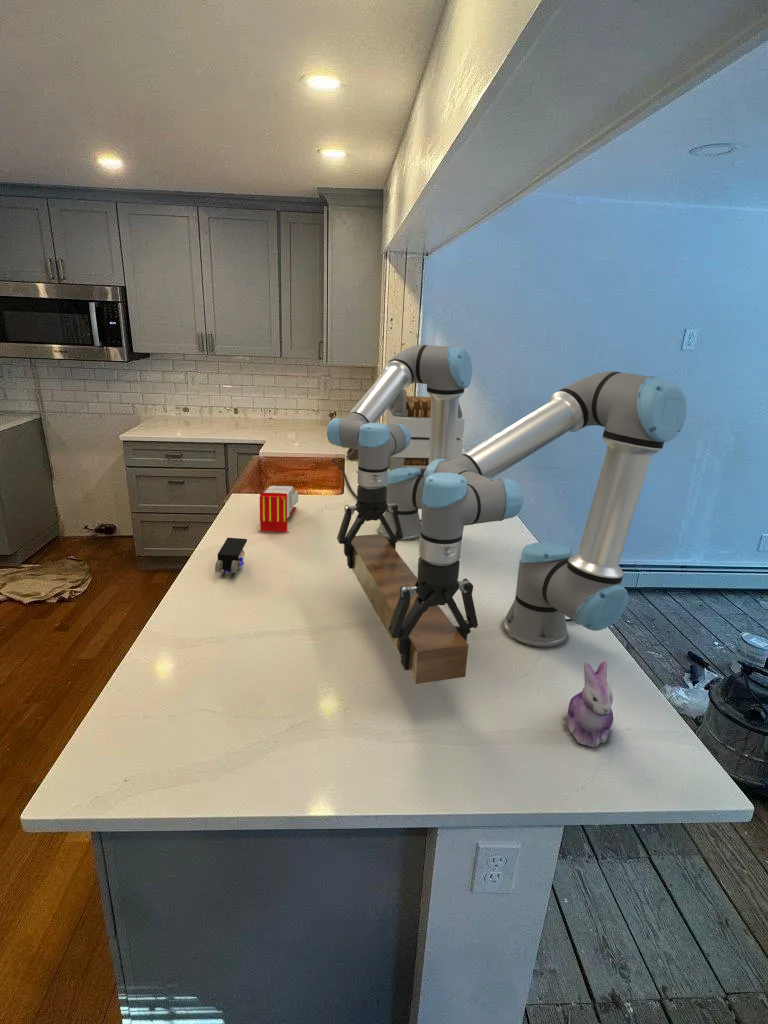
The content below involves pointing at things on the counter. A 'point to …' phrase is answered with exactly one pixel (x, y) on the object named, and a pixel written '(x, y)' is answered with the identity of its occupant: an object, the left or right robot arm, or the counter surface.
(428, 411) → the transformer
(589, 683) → the figurine
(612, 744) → the counter surface
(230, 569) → the figurine character
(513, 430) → the right robot arm
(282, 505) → the toy
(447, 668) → the wide beam
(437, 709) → the counter surface
